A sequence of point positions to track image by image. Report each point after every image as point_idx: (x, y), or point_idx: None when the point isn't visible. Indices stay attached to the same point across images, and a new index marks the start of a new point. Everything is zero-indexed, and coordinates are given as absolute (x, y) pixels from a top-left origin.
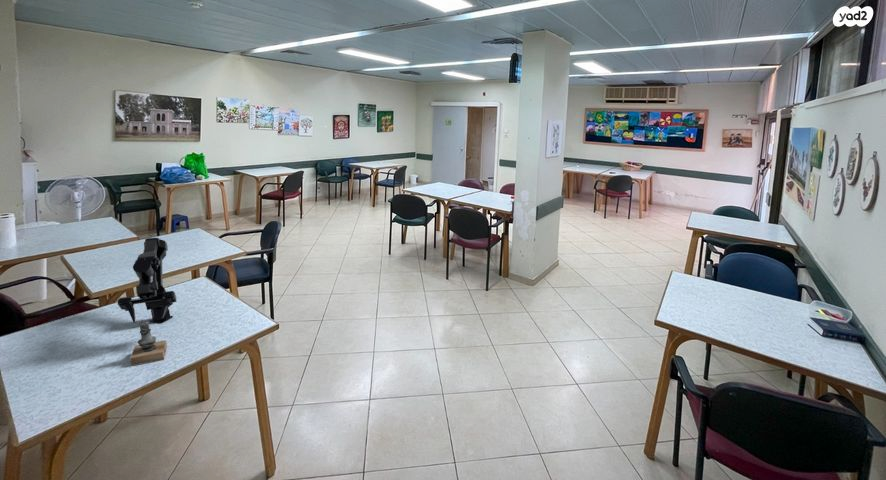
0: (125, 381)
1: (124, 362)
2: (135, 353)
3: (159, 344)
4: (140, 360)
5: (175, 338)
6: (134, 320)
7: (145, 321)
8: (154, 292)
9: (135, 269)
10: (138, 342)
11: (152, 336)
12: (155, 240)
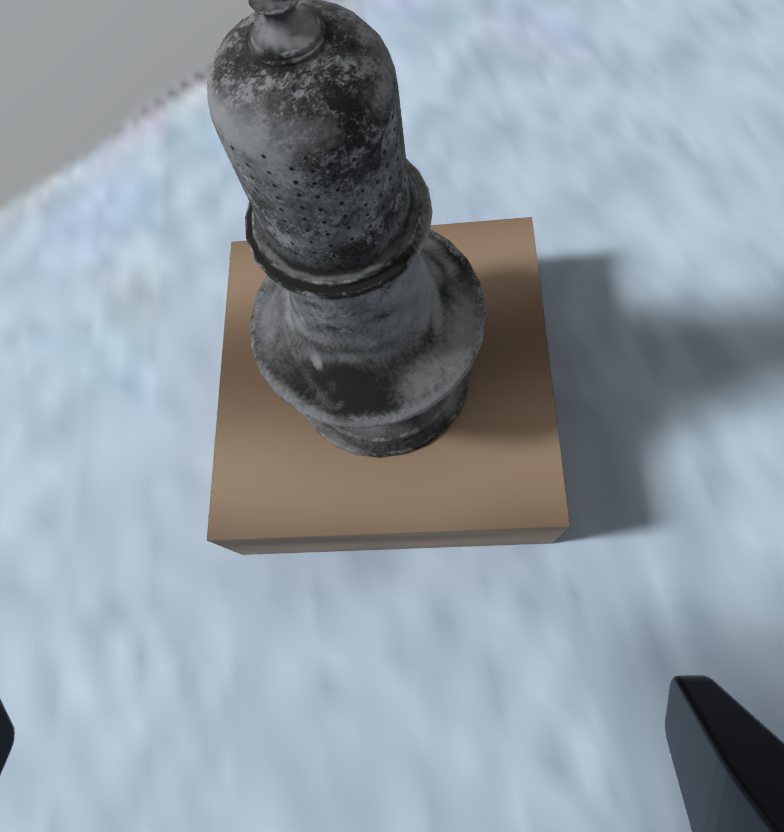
0: (501, 54)
1: (614, 355)
2: (504, 303)
3: (272, 442)
4: None
5: (150, 796)
6: (687, 714)
7: (245, 56)
8: None
9: None
10: (465, 269)
11: (302, 401)
12: None
